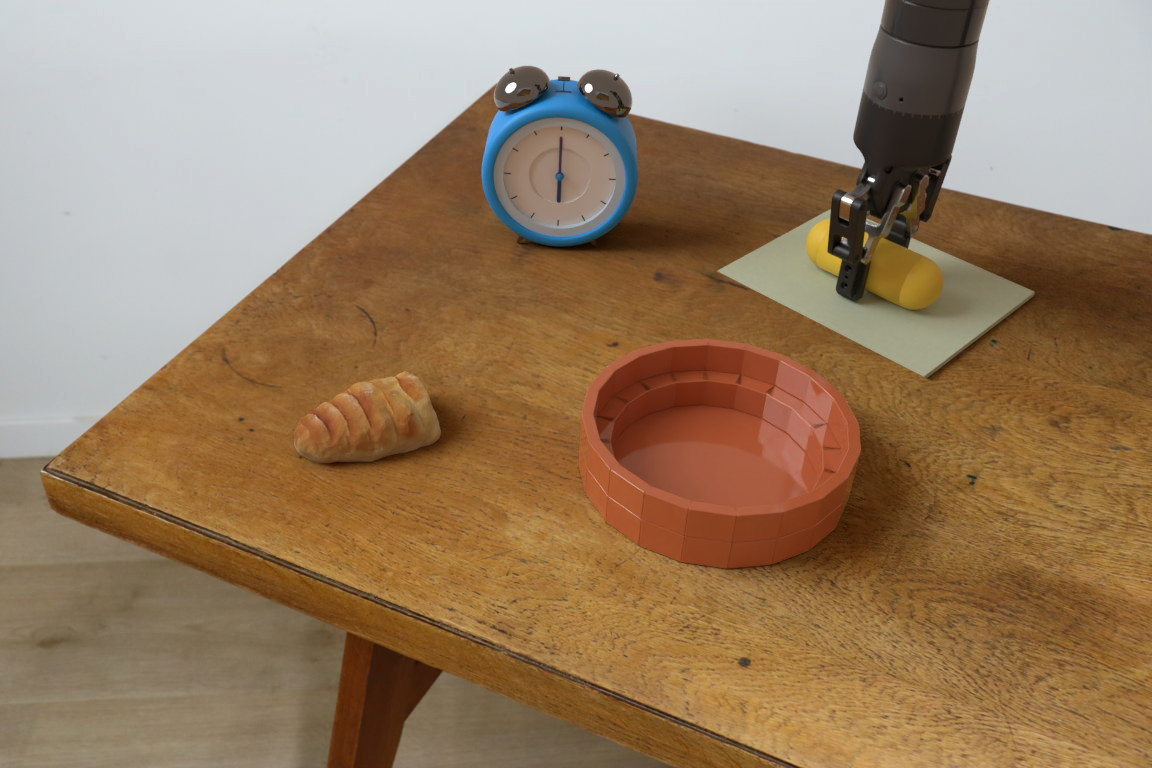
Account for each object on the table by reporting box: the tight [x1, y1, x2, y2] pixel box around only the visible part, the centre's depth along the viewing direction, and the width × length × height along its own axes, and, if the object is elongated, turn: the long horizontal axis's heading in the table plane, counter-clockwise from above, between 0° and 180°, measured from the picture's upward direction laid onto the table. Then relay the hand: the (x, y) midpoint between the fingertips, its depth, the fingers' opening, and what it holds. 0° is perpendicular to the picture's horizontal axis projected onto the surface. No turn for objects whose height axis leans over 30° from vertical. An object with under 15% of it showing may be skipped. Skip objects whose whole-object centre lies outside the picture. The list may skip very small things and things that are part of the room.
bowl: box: [577, 338, 862, 570], centre depth 72 cm, size 18×18×5 cm
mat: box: [717, 208, 1036, 379], centre depth 93 cm, size 20×20×1 cm
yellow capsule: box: [806, 219, 944, 310], centre depth 92 cm, size 12×4×4 cm, turn 45°
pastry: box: [293, 370, 442, 464], centre depth 74 cm, size 9×7×4 cm
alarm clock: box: [480, 65, 639, 248], centre depth 94 cm, size 13×6×15 cm, turn 88°
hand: (868, 282), depth 93 cm, fingers open, 5 cm apart
